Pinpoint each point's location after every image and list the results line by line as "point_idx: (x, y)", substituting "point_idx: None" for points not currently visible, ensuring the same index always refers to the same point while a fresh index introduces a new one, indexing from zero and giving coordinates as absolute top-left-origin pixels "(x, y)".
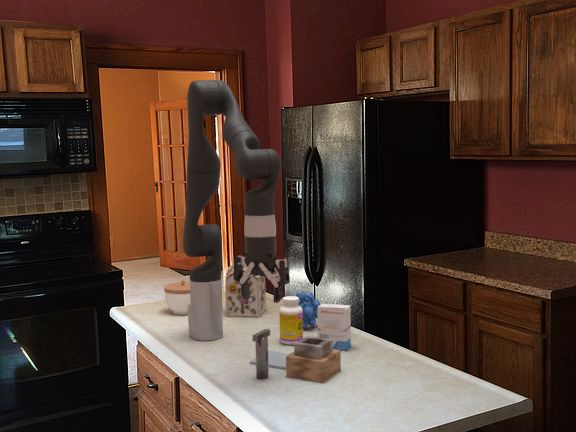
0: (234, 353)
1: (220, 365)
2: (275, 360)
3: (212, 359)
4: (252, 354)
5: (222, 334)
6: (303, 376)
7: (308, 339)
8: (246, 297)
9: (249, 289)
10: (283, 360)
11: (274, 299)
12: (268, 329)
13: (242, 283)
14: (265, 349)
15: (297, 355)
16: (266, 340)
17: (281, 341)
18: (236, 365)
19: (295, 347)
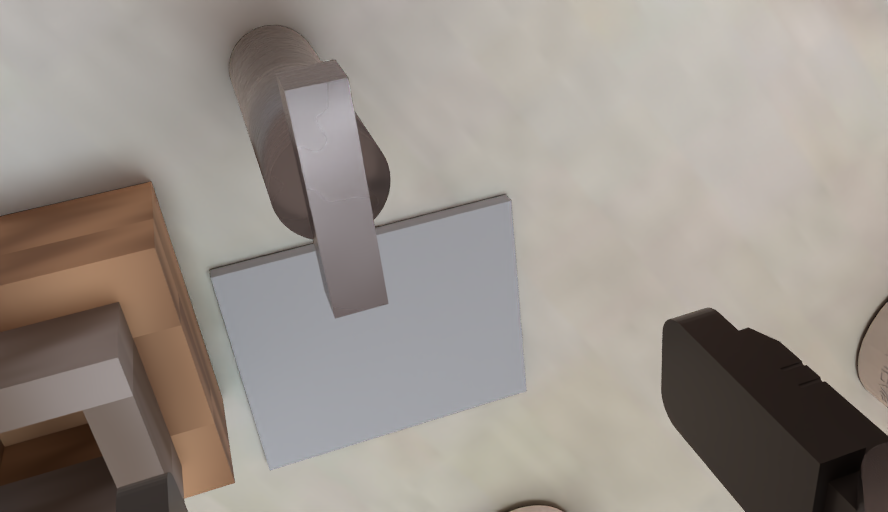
0: (679, 254)
1: (641, 59)
2: (387, 309)
3: (738, 105)
4: (583, 307)
5: (866, 381)
6: (6, 222)
7: None
8: (676, 348)
9: (732, 487)
10: (347, 339)
11: (149, 508)
12: (349, 309)
13: (879, 457)
14: (255, 136)
15: (90, 311)
16: (266, 184)
17: (549, 509)
18: (556, 122)
19: (106, 342)
